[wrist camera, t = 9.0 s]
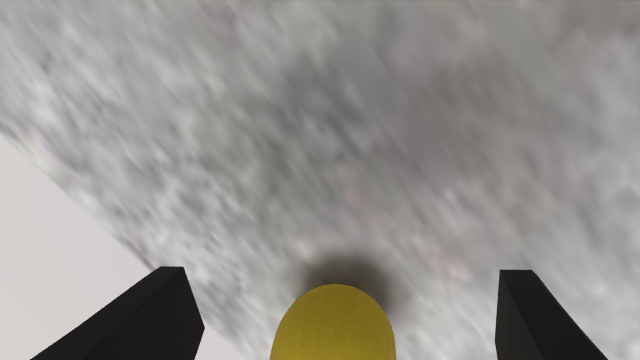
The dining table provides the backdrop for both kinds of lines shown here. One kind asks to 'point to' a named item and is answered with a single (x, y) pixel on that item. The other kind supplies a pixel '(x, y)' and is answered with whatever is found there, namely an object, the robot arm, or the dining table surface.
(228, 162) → the dining table surface
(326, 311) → the lemon
